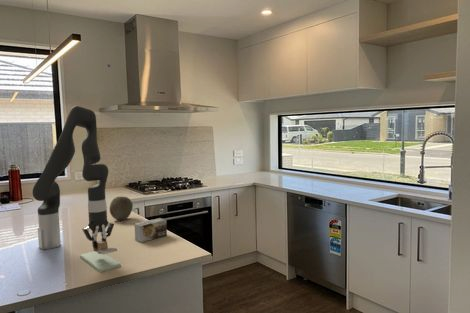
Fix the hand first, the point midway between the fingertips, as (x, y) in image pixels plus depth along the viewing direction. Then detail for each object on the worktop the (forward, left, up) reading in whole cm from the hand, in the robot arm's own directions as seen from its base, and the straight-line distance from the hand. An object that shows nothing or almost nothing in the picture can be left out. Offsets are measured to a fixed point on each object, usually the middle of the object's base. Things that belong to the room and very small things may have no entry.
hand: (99, 247), depth 155 cm
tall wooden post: (0, -4, -1) cm, 4 cm away
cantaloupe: (+38, +60, -7) cm, 71 cm away
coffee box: (+25, +13, -2) cm, 28 cm away
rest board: (0, 0, -6) cm, 6 cm away
